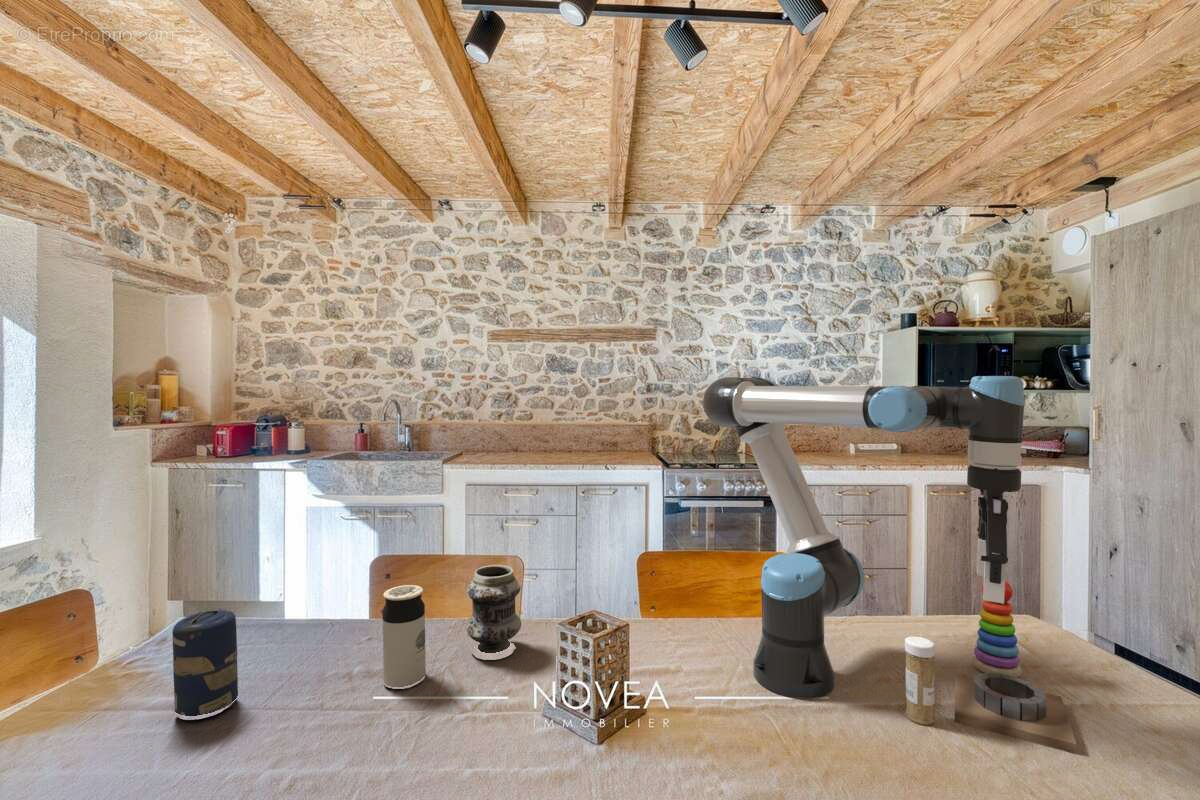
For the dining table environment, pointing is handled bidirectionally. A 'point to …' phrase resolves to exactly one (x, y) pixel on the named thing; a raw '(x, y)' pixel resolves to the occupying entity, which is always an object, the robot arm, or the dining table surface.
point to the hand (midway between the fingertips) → (989, 588)
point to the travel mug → (403, 636)
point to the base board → (1043, 732)
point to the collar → (1020, 708)
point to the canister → (205, 662)
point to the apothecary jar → (493, 607)
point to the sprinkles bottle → (920, 680)
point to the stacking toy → (997, 638)
